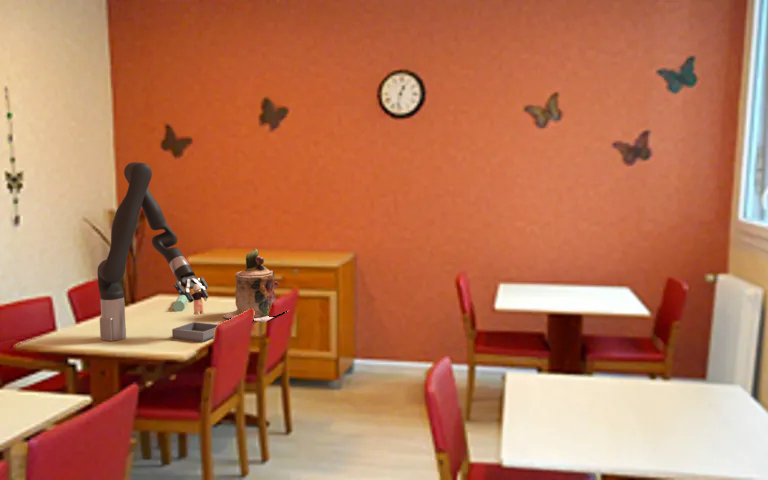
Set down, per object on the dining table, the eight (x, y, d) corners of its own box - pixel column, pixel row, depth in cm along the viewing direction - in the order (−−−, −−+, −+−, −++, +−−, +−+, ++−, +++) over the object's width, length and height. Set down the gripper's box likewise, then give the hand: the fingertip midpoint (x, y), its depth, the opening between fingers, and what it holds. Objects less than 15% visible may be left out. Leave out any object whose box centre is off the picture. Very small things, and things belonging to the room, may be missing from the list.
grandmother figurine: (204, 311, 289) (202, 282, 287) (208, 312, 286) (206, 283, 284) (187, 314, 284) (185, 284, 282) (191, 316, 281) (189, 286, 279)
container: (179, 290, 358) (175, 298, 334) (190, 294, 359) (186, 302, 335) (175, 300, 358) (170, 309, 334) (186, 304, 360) (182, 313, 335)
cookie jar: (220, 319, 318) (218, 251, 314) (246, 308, 341) (244, 245, 337) (267, 322, 310) (266, 253, 307) (290, 311, 334) (289, 247, 330)
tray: (203, 342, 276) (203, 332, 276) (172, 338, 283) (172, 329, 282) (224, 334, 289) (224, 325, 289) (194, 330, 295) (193, 321, 295)
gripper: (170, 266, 281) (188, 297, 276) (199, 261, 293) (217, 291, 287) (163, 277, 285) (181, 308, 280) (192, 272, 297) (210, 302, 291)
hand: (199, 299), depth 283 cm, fingers closed on grandmother figurine, 6 cm apart
